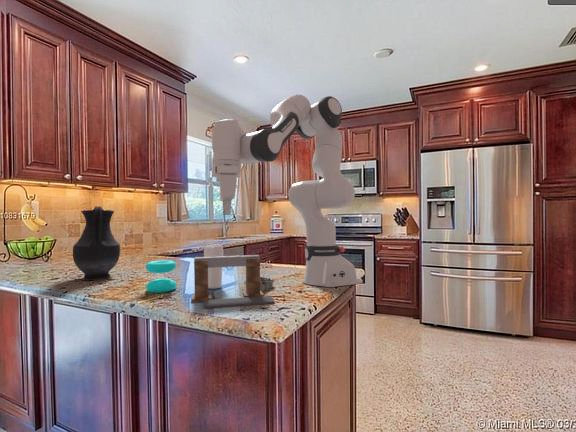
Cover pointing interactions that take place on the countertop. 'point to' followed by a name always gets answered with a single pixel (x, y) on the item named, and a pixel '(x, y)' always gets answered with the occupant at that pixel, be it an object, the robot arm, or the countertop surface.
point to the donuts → (161, 284)
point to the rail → (226, 260)
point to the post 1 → (201, 282)
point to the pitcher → (96, 245)
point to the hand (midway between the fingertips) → (226, 215)
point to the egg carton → (265, 283)
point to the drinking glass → (214, 272)
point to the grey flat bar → (238, 302)
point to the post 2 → (253, 278)
